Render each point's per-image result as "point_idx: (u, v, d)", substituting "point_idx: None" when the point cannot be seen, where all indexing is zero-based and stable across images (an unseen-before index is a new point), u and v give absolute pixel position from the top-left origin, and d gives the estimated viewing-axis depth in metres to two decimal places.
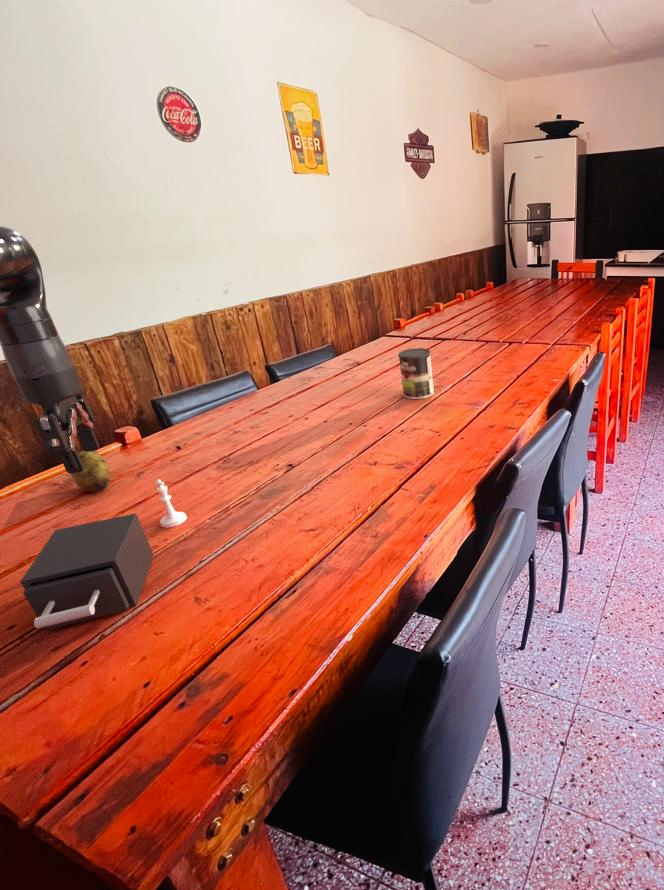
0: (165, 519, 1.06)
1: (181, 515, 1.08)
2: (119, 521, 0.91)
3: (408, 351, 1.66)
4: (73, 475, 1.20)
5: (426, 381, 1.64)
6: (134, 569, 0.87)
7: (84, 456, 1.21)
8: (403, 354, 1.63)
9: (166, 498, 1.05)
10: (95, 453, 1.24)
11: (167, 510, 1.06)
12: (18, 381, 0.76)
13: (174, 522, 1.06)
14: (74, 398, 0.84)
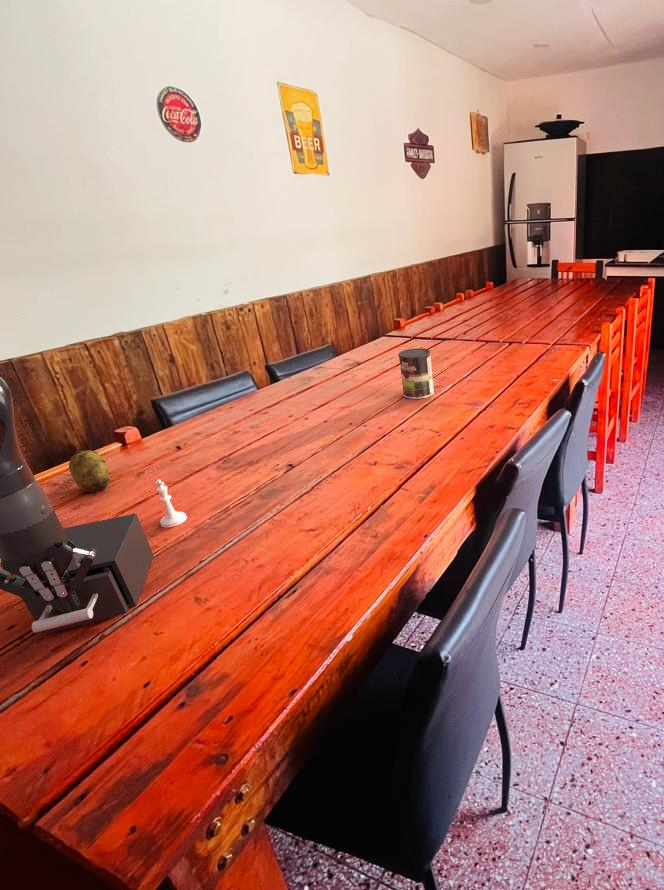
0: (165, 519, 1.06)
1: (181, 515, 1.08)
2: (119, 521, 0.91)
3: (408, 351, 1.66)
4: (73, 475, 1.20)
5: (426, 380, 1.64)
6: (134, 569, 0.87)
7: (85, 456, 1.21)
8: (403, 354, 1.63)
9: (166, 498, 1.05)
10: (95, 453, 1.24)
11: (167, 510, 1.06)
12: None
13: (174, 522, 1.06)
14: (59, 552, 0.71)
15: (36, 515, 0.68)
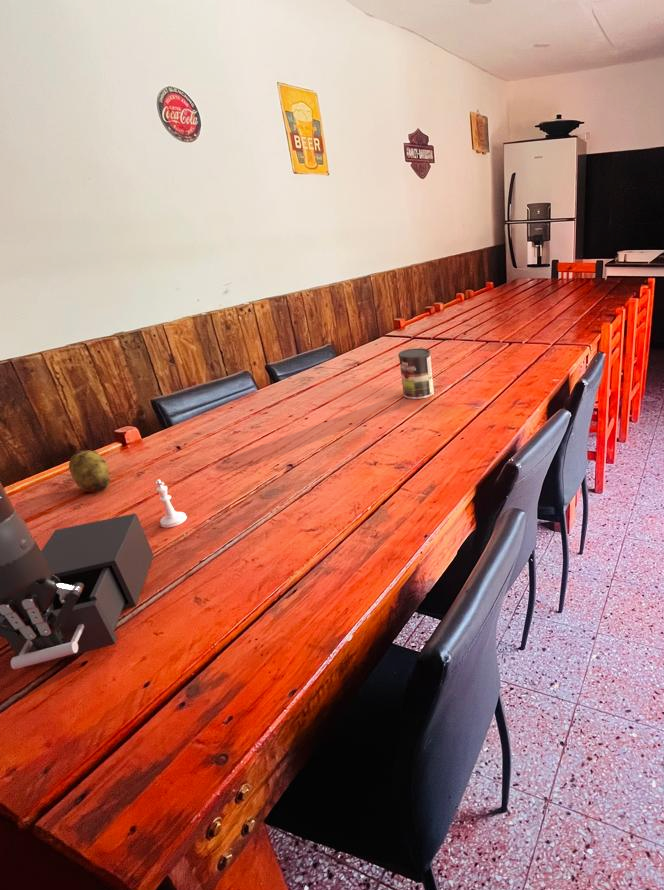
0: (165, 519, 1.06)
1: (181, 515, 1.08)
2: (119, 521, 0.91)
3: (408, 351, 1.66)
4: (73, 475, 1.20)
5: (426, 380, 1.64)
6: (134, 569, 0.87)
7: (85, 456, 1.21)
8: (403, 354, 1.63)
9: (166, 498, 1.05)
10: (95, 453, 1.24)
11: (167, 510, 1.06)
12: None
13: (174, 522, 1.06)
14: (41, 588, 0.66)
15: (16, 550, 0.62)
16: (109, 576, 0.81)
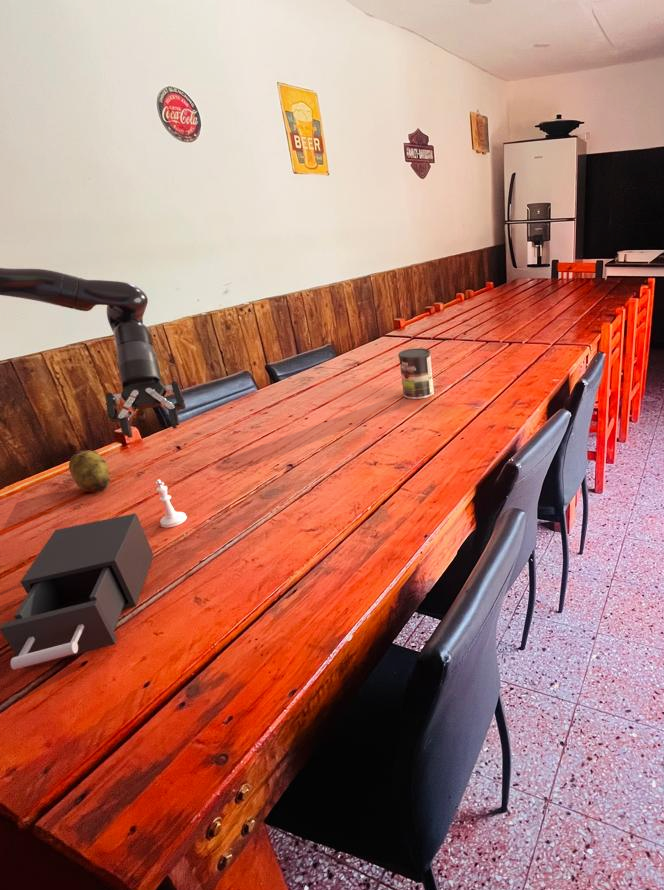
0: (165, 519, 1.06)
1: (181, 515, 1.08)
2: (119, 521, 0.91)
3: (408, 351, 1.66)
4: (73, 475, 1.20)
5: (426, 380, 1.64)
6: (134, 569, 0.87)
7: (85, 456, 1.21)
8: (403, 354, 1.63)
9: (166, 498, 1.05)
10: (95, 453, 1.24)
11: (167, 510, 1.06)
12: None
13: (174, 522, 1.06)
14: (157, 386, 1.12)
15: (151, 357, 1.13)
16: (109, 576, 0.81)
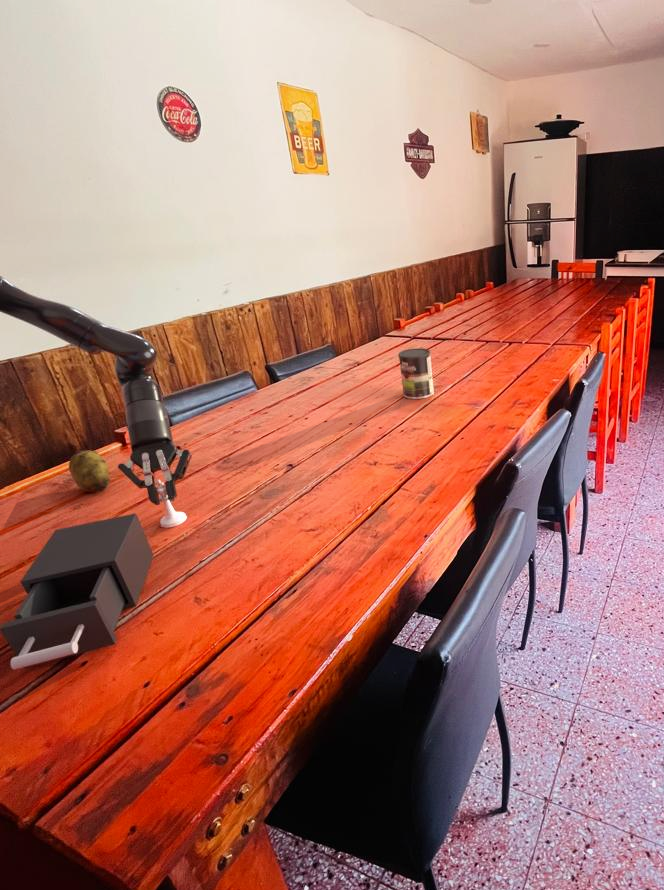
0: (165, 519, 1.06)
1: (181, 515, 1.08)
2: (119, 521, 0.91)
3: (408, 351, 1.66)
4: (73, 475, 1.20)
5: (426, 380, 1.64)
6: (134, 569, 0.87)
7: (85, 456, 1.21)
8: (403, 354, 1.63)
9: (166, 498, 1.05)
10: (95, 453, 1.24)
11: (167, 510, 1.06)
12: None
13: (174, 522, 1.06)
14: (168, 447, 1.06)
15: (162, 416, 1.07)
16: (109, 576, 0.81)
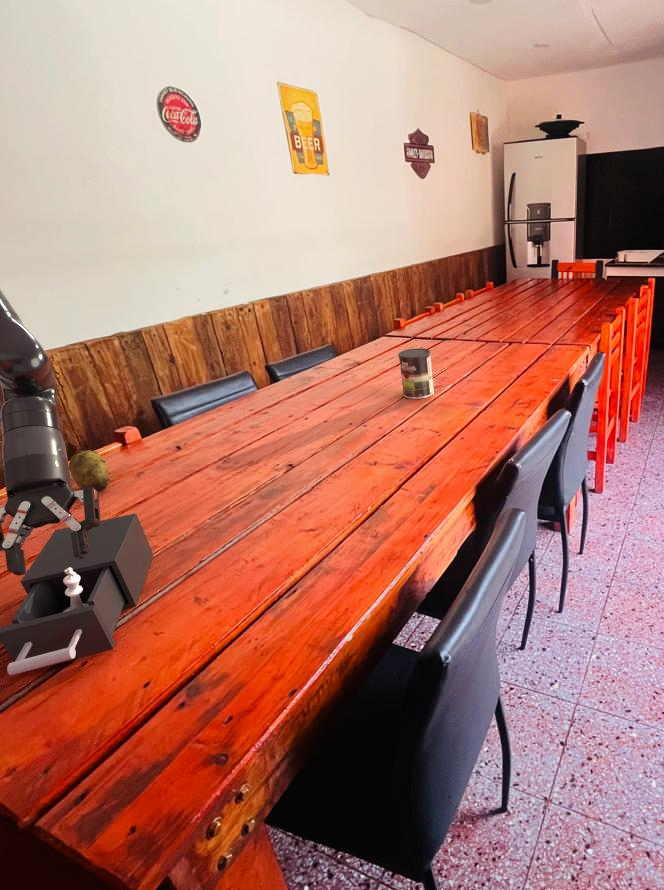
0: None
1: None
2: (119, 521, 0.91)
3: (408, 351, 1.66)
4: (73, 475, 1.20)
5: (426, 380, 1.64)
6: (134, 569, 0.87)
7: (85, 456, 1.21)
8: (403, 354, 1.63)
9: (74, 592, 0.76)
10: (95, 453, 1.24)
11: (72, 606, 0.77)
12: None
13: None
14: (61, 492, 0.77)
15: (53, 448, 0.78)
16: (107, 580, 0.80)
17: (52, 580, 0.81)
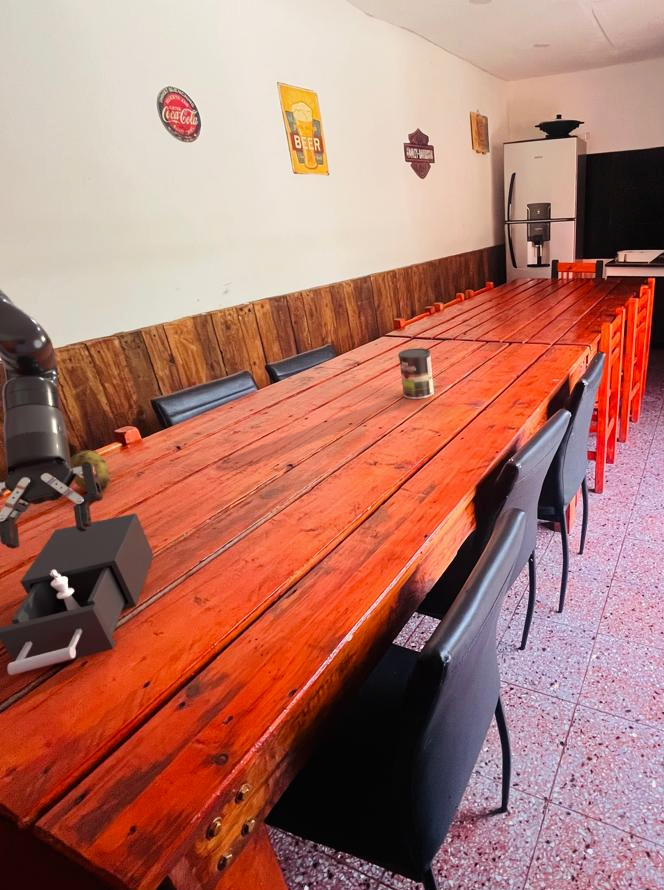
0: None
1: None
2: (119, 521, 0.91)
3: (408, 351, 1.66)
4: None
5: (426, 380, 1.64)
6: (134, 569, 0.87)
7: (84, 456, 1.21)
8: (403, 354, 1.63)
9: (65, 594, 0.77)
10: (95, 453, 1.24)
11: (68, 609, 0.78)
12: None
13: None
14: (60, 469, 0.78)
15: (53, 427, 0.79)
16: (107, 580, 0.80)
17: (52, 580, 0.81)
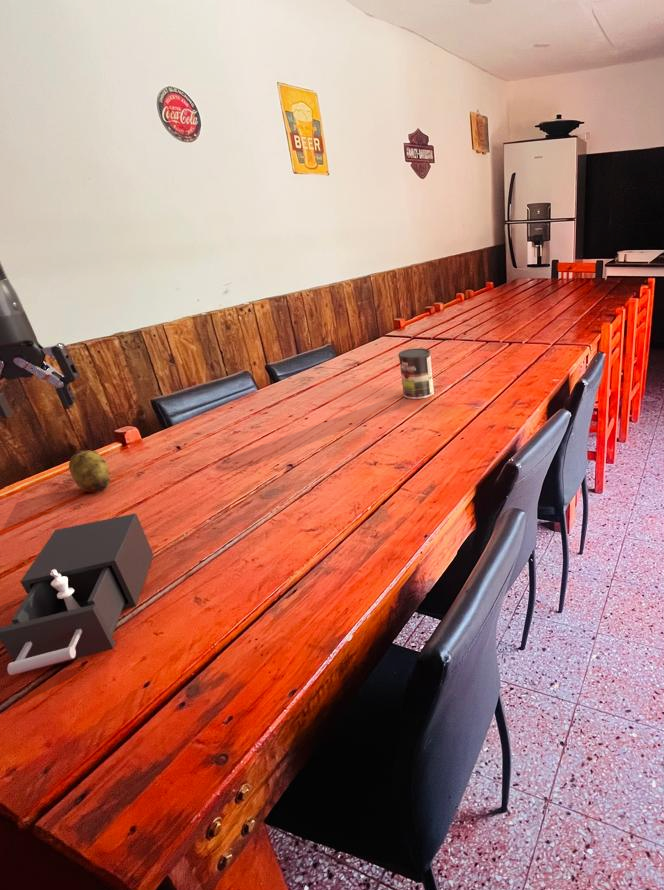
0: None
1: None
2: (119, 521, 0.91)
3: (408, 351, 1.66)
4: (73, 475, 1.20)
5: (426, 380, 1.64)
6: (134, 569, 0.87)
7: (85, 456, 1.21)
8: (403, 354, 1.63)
9: (65, 594, 0.77)
10: (95, 453, 1.24)
11: (68, 609, 0.78)
12: None
13: None
14: (30, 351, 0.79)
15: (8, 308, 0.75)
16: (107, 580, 0.80)
17: (52, 580, 0.81)
